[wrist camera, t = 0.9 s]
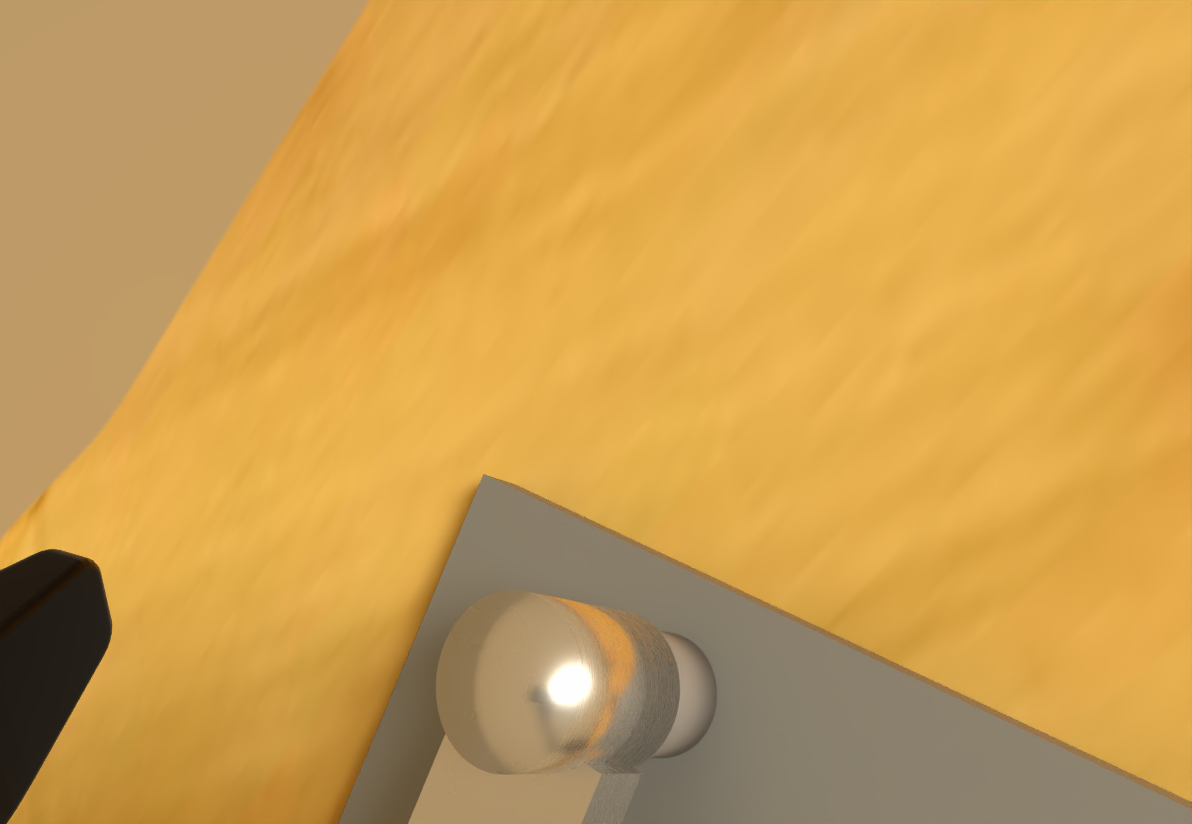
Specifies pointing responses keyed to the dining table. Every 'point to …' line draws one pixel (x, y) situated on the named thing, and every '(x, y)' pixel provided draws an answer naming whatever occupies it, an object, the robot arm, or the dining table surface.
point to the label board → (747, 702)
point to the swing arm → (546, 712)
